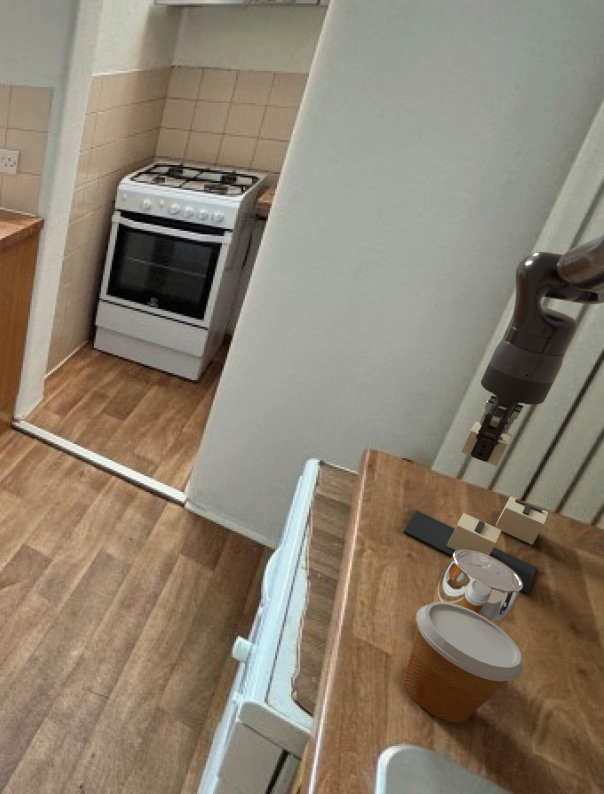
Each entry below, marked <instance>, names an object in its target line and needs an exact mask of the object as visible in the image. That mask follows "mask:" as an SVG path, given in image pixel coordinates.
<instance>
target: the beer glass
mask: <svg viewBox="0 0 604 794" xmlns="http://www.w3.org/2000/svg"><path fill="white" fill-rule="evenodd" d="M522 587H523V583H522V581H521V579H520V577H519V576H518V575H517V574H516V573H515V572H514V571H513V570H512V569H510V568H509V567H508V566H506V565H505V564H503V563H502V562H500V561H498V560H497V559H495V558H493V557H491V556H488V555H486V554H484V553H481V552H478V551H474V550H469V549H459V550H456V551H455V552H454V554H453V556H452V557H451V556H450V558H449V560H448V561H447V563H446V564H445V565H444V567H443V569H442V570H441V572H440V573H439V576H438V578H437V580H436V584H435V587H434V592H433V596H432V597H433V598H432V603H433V602H448V603H452V604H456V605H459V606H462V607H465V608H467V609H469V610H472V611H474V612H476V613H478V614H480V615H481V616H483V617H485V618H486V619H488V620H490V621H491V622H492V623H494V624H495V625H496V626H498V627H499V628H500V626H501V625H503V624H504V623H505V621H506V620H507V619H508V617H509V616H510V614H511V613H512V611H513V609H514V607H515V606H516V603H517V602H518V601H517V600H518V598H519V595H520V594H521V589H522Z"/></svg>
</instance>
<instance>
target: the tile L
mask: <svg viewBox="0 0 604 794" xmlns="http://www.w3.org/2000/svg"><path fill="white" fill-rule="evenodd" d="M480 428H481V425H480V421H476V422H475V423H474V425H473V426H472V428H471V429H470V430H469V433H468V435H467V437H466V439H465V441H464V444H463V446H462V448H461V450H460V453H463V454H464V455H468V456H470V457H472V456H471V452H472V450H473V448H474V445H475V443H476V441H477V439H476V434H478V433H479V430H480ZM484 434H487V435H490V436H492V437H495V435H492V434H490V433H487V432H484ZM513 436H514V435H513V434H512V433H510V432H508V433H506V434H502V435H501V437H500V439H499V441H500V442H499V444H498V445H496V446H495V448H494V450H493V452H492V454H491V456H490V458H489V460H488V461H487V462H486V463H487V464H489V465H490V464H491V465H492V466H495V467H498V465H499V464H500V461H502V459H503V457H504V454H505V452H506V451H507V448H508V446H509V444H510V442H511V440H512V438H513Z"/></svg>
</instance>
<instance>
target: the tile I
mask: <svg viewBox="0 0 604 794" xmlns="http://www.w3.org/2000/svg"><path fill="white" fill-rule="evenodd" d="M454 529H455V530H454V532H453V534H452V536H451V538H450V540H449V542H448V544H447V546H448V547H450V548H452V549H454V550H459V549H469V550H474V551H478V552H481V553H484V554H486V555H488V556H489V555H490V553H491V552H492V550H493V548H495V546H496V544H497V543H498V540H499V537H500V535H501V532H502V531H501V530H500V529H498V528H496V527H495V526H493V525H492V524H489V523H487V522H485V521H482V520H480V519H478V518H476V517H474V516H471V515H469V514H467V513H465V512H463V513H462V515H461V517H460V518H459V521H458V522H457V525H456V526H455V527H454Z"/></svg>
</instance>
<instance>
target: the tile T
mask: <svg viewBox="0 0 604 794" xmlns="http://www.w3.org/2000/svg"><path fill="white" fill-rule="evenodd" d="M548 514H549V512H548V511H546V510H544V509H542V508H540V507H537V506H535V505H532V504H530V503H528V502H525V501H523V500H521V499H519V498H516V497H513V496H510V497H509V498H508V500H507V501H506V504H505V506H504V508H503V510H502V511H501V513H500V515H499V517H498V519H497V521H496V524H495V526H494V527H496V528H498V529H500V530H501V532H503V533H505V534H507V535H510V536H511V537H514V538H515V539H516V538H517V539H518V540H521V541H523V542H525V543H527V544H529V545H534V544H535V541H536V540H537V538H538V536H539V535H540V533H541V531H542V529H543V527H544V526H545V523H546V521H547V518H548Z"/></svg>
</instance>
